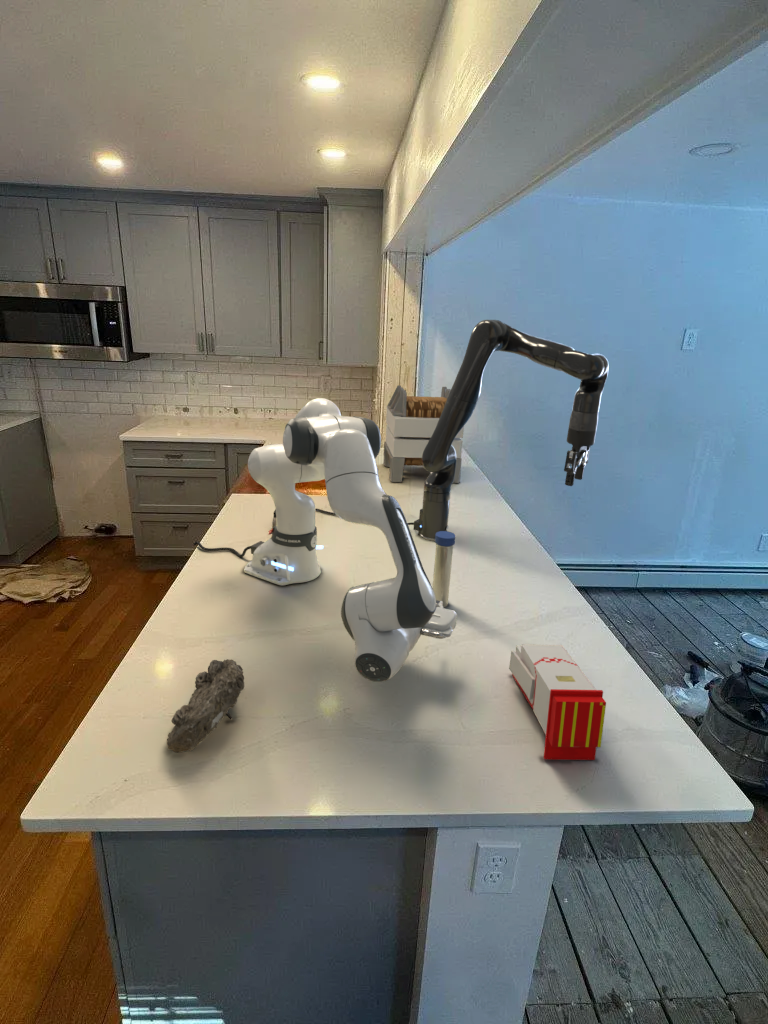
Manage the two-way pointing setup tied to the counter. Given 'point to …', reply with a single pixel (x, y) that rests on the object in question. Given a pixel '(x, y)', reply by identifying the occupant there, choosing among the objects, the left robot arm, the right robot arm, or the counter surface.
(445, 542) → the lid
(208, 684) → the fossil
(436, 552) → the metal cylinder
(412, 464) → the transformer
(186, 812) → the counter surface
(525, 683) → the toy
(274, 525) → the figurine character
